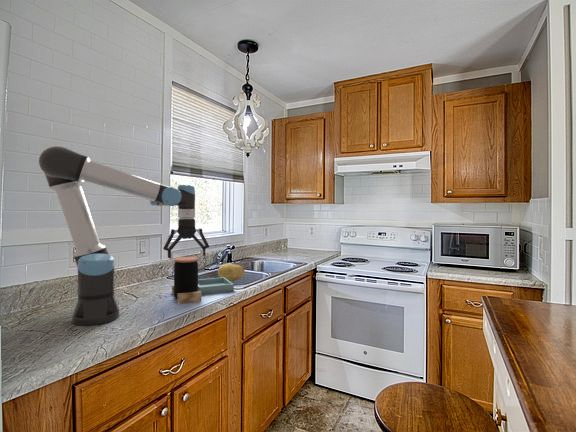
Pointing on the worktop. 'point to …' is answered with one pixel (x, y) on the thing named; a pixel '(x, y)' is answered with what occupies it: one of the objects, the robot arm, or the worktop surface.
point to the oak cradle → (187, 296)
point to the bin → (214, 285)
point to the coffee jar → (185, 275)
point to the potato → (231, 271)
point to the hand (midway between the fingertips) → (186, 264)
